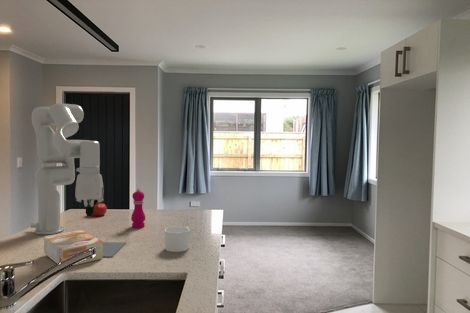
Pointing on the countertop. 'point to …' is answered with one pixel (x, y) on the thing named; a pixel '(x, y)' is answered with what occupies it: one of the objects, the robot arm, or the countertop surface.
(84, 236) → the coffeecake box
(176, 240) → the mug
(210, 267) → the countertop surface
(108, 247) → the mat
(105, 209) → the pomegranate
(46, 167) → the robot arm
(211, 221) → the countertop surface
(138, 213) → the pepper mill
